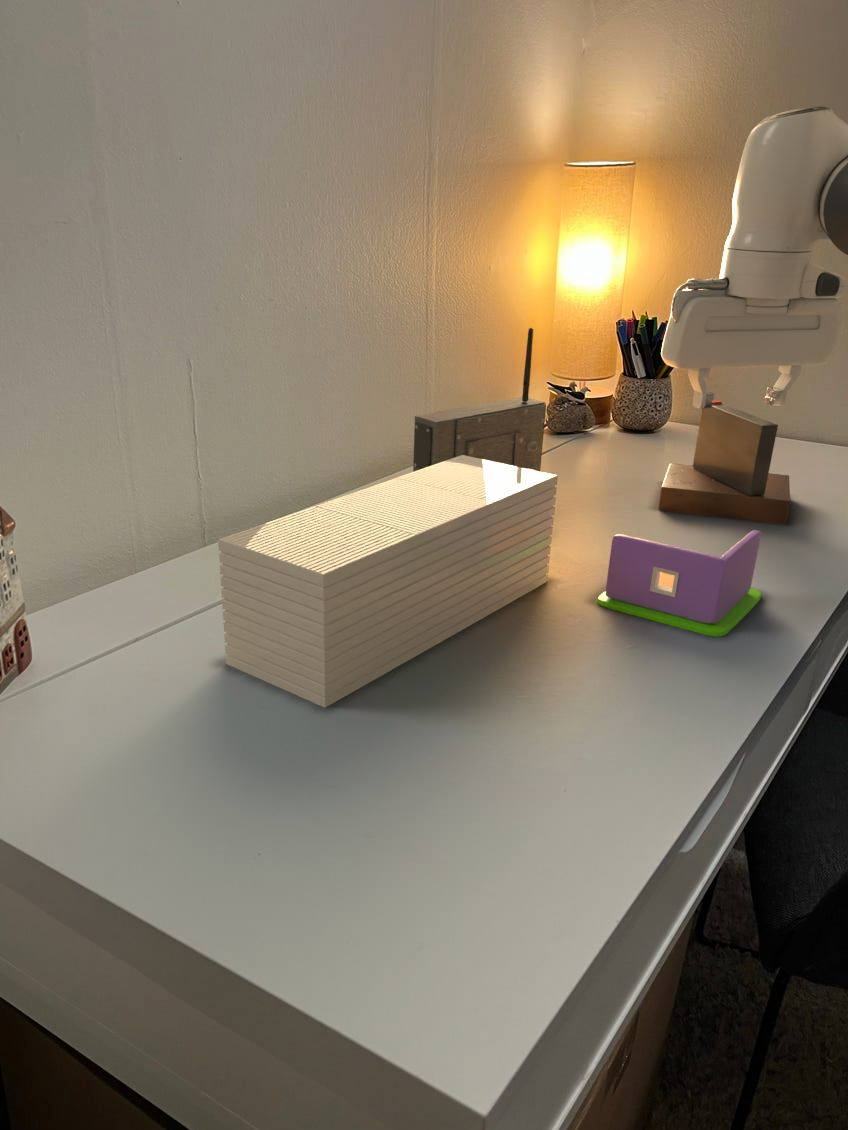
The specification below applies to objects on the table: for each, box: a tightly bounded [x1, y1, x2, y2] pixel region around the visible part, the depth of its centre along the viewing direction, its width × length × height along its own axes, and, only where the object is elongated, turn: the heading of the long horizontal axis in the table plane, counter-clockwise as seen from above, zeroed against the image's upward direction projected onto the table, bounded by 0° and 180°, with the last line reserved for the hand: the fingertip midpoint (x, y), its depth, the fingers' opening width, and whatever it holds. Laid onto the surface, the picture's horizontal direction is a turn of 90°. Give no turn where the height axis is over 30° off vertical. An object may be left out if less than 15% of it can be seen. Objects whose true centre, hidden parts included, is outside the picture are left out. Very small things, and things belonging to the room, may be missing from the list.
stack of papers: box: [217, 455, 559, 708], centre depth 82 cm, size 32×11×11 cm, turn 140°
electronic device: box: [412, 327, 547, 472], centre depth 109 cm, size 17×7×20 cm, turn 128°
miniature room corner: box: [596, 529, 762, 637], centre depth 87 cm, size 12×12×7 cm
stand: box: [657, 462, 791, 525], centre depth 115 cm, size 14×11×3 cm
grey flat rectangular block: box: [692, 399, 779, 496], centre depth 112 cm, size 12×2×8 cm, turn 14°
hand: (738, 406), depth 110 cm, fingers open, 8 cm apart
